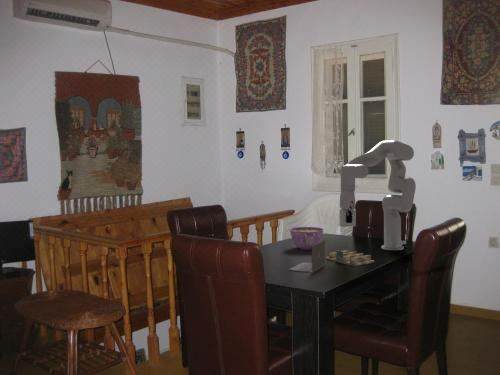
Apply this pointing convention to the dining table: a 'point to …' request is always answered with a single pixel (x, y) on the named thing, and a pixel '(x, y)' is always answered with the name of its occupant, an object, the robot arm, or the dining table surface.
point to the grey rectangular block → (343, 218)
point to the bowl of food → (306, 237)
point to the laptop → (313, 259)
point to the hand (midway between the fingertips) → (347, 222)
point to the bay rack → (350, 258)
